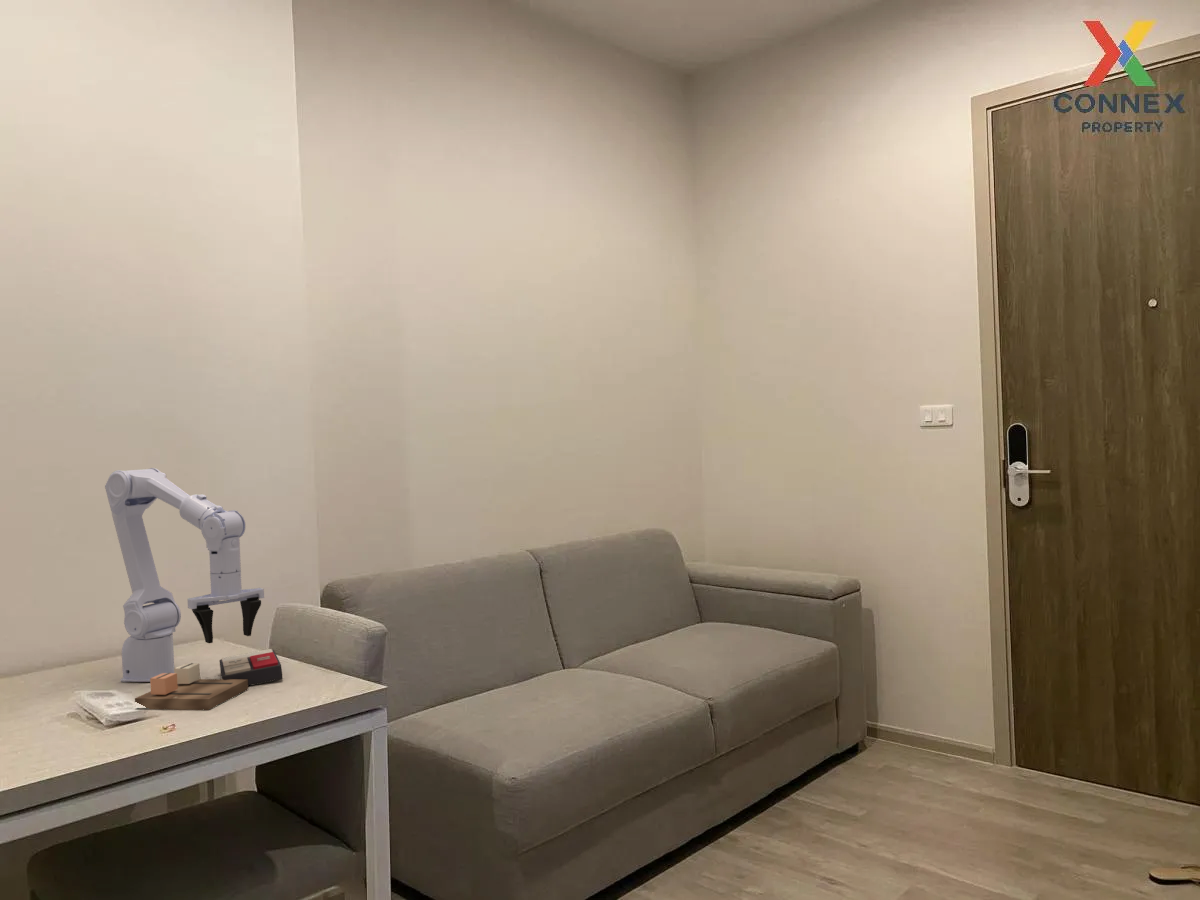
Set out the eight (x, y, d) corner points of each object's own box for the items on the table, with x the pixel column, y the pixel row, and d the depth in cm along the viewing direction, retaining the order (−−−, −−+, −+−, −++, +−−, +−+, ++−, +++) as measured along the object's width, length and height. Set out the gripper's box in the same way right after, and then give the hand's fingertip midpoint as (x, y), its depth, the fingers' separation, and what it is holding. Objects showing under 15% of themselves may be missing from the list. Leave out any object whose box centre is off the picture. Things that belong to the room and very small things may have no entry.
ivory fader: (174, 683, 175) (173, 667, 175) (186, 678, 179) (185, 663, 178) (188, 683, 174) (188, 668, 174) (200, 678, 178) (199, 663, 178)
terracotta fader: (151, 694, 168) (150, 677, 168) (163, 688, 172) (162, 672, 172) (165, 694, 168) (164, 678, 167) (177, 689, 171) (176, 672, 171)
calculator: (222, 672, 178) (218, 656, 191) (224, 693, 178) (221, 675, 191) (281, 661, 182) (273, 645, 196) (283, 682, 182) (275, 665, 196)
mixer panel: (135, 709, 167) (134, 697, 167) (179, 688, 180) (178, 678, 180) (208, 710, 165) (208, 698, 165) (248, 689, 178) (247, 678, 178)
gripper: (195, 578, 174) (198, 648, 174) (269, 568, 184) (271, 635, 184) (182, 575, 179) (185, 643, 179) (255, 565, 189) (257, 630, 189)
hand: (228, 638), depth 182 cm, fingers open, 7 cm apart
